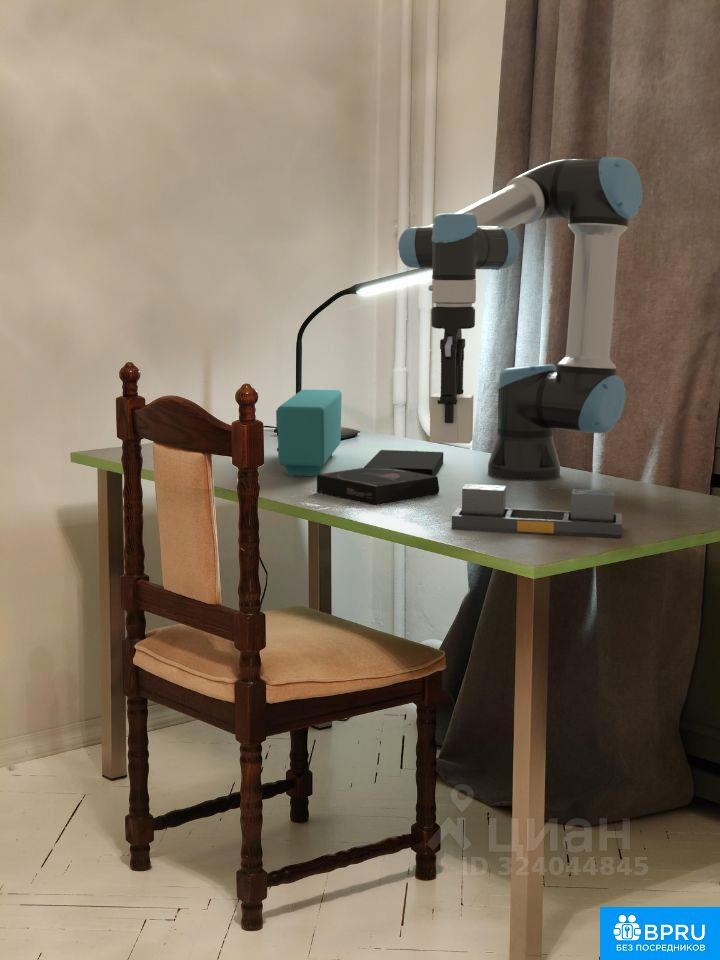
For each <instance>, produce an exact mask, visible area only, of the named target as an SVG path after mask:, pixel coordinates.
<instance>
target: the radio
mask: <svg viewBox="0 0 720 960" xmlns="http://www.w3.org/2000/svg"><path fill="white" fill-rule="evenodd" d="M342 397H343V396H342V391H341V390H338V389H337V390H336V389H301V390H300V391H298V392H297V393H296V394H295V395H293V396H292V397H290V398H289V399H287V400H286V401H285V402H284V403H282V404H281V405H279V406H278V407H277V409H276V411H275V412H276V413H275V415H276V416H275V417H276V419H275V421H276V430H277V448H276V452H277V453H278V458H277V459H278V460H277V461H278V464H279V465H280V466H285V469H286V472H287V473H286V474H287V476H288V475H318V474H320V473H319V472H320V469H321V468H322V467H323V466H324V465H325V464H326V463H327V462H328V460H329V459H330V458H332V457H333V454H334V452H335V451H336V449H337V448H338V447H339V446H340V444H341V442H342V441H341V440H342V439H341V438H342V437H341V436H342V435H341V434H342Z"/></svg>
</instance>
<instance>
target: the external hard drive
mask: <svg viewBox="0 0 720 960" xmlns="http://www.w3.org/2000/svg"><path fill="white" fill-rule="evenodd" d="M443 465H444V452H443V451H424V450H423V451H422V450H420V451H419V450H418V451H417V450H397V449H396V450H394V449H393V450H392V449H380V450H379V451H378V452H377V453H376V454H375V455H374V457H372V458H371V459H370V461H368V462H367V463H366V464H365V465H364V466H363V468H365V467H372V466H383V467H389V468H394V469H399V470H405V471H410V472H415V473H421V474H426V475H431V476H437V475H438V473H439V472H440V470H441V468H442V466H443Z"/></svg>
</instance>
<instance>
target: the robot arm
mask: <svg viewBox="0 0 720 960" xmlns="http://www.w3.org/2000/svg"><path fill="white" fill-rule="evenodd" d="M640 177H641V176H640V175H639V172H638V170H637V167H636V166H635V165H634V164H633V162H632V161H630V160H628V159H626V158H624V157H617V156H616V157H615V156H614V157H613V156H602V157H591V158H590V157H588V158H573V159H572V158H571V159H568V158H567V159H558V160H554V161H550V162H547V163H545V164H542V165H540V166H537V167H535V168H532V169H531V170H528V171H526V172H524V173H522V174H520V175H518V176H515V177H514V178H512V179H509V181H508V182H507V183H506V185H505V187H504V188H503V189H500V190H499V191H497V192H495V193H493V194H491V195H489V196H487V197H485V198H482V199H480V200H479V201H477V202H475V203H473V204H470V205H469V206H467V207H465V208H463V209H461V210H459V211H457V212H455V213H438V214H436V215H435V216H434V218H433V220H432V221H433V222H432V224H430V225H428V226H427V225H426V226H421V225H417V226H413V227H408V228H406V229H405V230H403V232H402V233H401V234H400V237H399V240H398V248H397V249H398V254H399V258H400V260H401V262H402V264H404V265H405V266H407V267H409V268H413V269H420V270H424V269H427V270H428V269H431V270H432V274H431V275H432V276H431V279H432V281H431V283H432V284H430V285H428V288H427V289H428V291H430V292H432V293H431V302H432V304H435V306H432V308H431V313H430V314H431V317H430V318H431V319H430V320H431V323H430V324H431V327H432V328H434V329H439V330H442V329H443V330H444V332H443V338H441V339H440V341H439V349H440V394H441V397H440V400H438V404H442V431H441V441H446V442H457V433H458V404H456V403H457V394H464V361H465V347H466V338H463V335H462V334H463V333H462V330H469V329H473V328H474V327H475V325H476V308H475V306H473V304H475V303H476V302H477V300H476V299H477V295H476V294H477V279H476V278H477V277H476V272H477V270H493V271H494V270H495V271H499V270H502V269H507V268H509V267H511V266H513V264H514V263H515V262H516V261H517V259H518V256H519V255H520V241H519V238H518V236H517V234H516V233H515V232H514V230H513V228H515V227H517V226H518V225H520V224H523V225H530V224H533V223H535V222H537V221H540V220H541V221H542V220H547V219H548V220H551V219H565V220H568V224H567V225H568V228H569V229H570V231H571V232H572V233H573V234H574V244H573V245H574V248H573V257H572V258H573V259H572V272H571V285H570V286H571V287H570V297H569V299H570V300H569V313H568V322H567V323H568V327H567V336H566V337H567V338H566V352H565V356H564V357H563V358H561V360H560V361H559V362H558V363H557V368H556V365H555V364H550V363H549V364H540V365H539V364H538V365H536V364H535V365H526V366H516V367H507V368H504V369H503V370H501V372H500V374H499V377H498V378H499V381H498V387H497V392H498V393H497V394H498V395H497V400H498V401H497V435H496V441H495V444H494V445H493V449H492V450H491V451H492V452H491V454H490V456H489V460H488V465H487V474H488V475H489V476H491V477H495V478H499V479H504V480H513V481H515V480H516V481H545V480H547V481H548V480H552V479H553V480H554V479H557V478H559V477H560V476H561V463H560V461H559V457H558V452H557V449H556V447H555V442H554V430H561V431H562V430H564V431H572V432H579V433H582V434H590V433H592V434H605V433H606V432H608V431H610V430H611V429H613V427H615V425H617V423H618V421H619V420H620V418H621V417H622V413H623V412H624V407H625V405H626V404H625V403H626V397H627V391H626V388H625V382H624V380H623V379H622V378H620V377H619V376H618V375H616V374H617V373H616V372H617V366H616V365H615V364H614V362H612V360H611V359H610V352H611V341H612V340H611V339H612V330H613V329H612V327H613V316H614V305H615V303H614V302H615V292H616V279H617V277H616V276H617V269H618V268H617V265H618V252H619V242H620V241H619V240H620V237H621V236H622V235H623V233H625V232H626V231H627V230H628V228H629V226H628V225H629V219H632V218H634V217H636V216H637V215H638V213H639V212H640V208H641V207H642V203H643V186H642V181H641V178H640Z"/></svg>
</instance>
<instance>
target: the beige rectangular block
mask: <svg viewBox="0 0 720 960" xmlns="http://www.w3.org/2000/svg"><path fill="white" fill-rule="evenodd" d="M440 397H441V393H433V394H432V395H430V397H429V398H430V399H429V400H430V402H429V403H430V404H429V406H430V407H429V443H439V444H441V443H447V444H467V445H468V444H471V443H472V442H473V437H474V435H473V432H474V431H473V430H474V394H464V393H463V394H457V403H456V404H458V433H457V442H446V441H441V431H442V404H438V400H440Z"/></svg>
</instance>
